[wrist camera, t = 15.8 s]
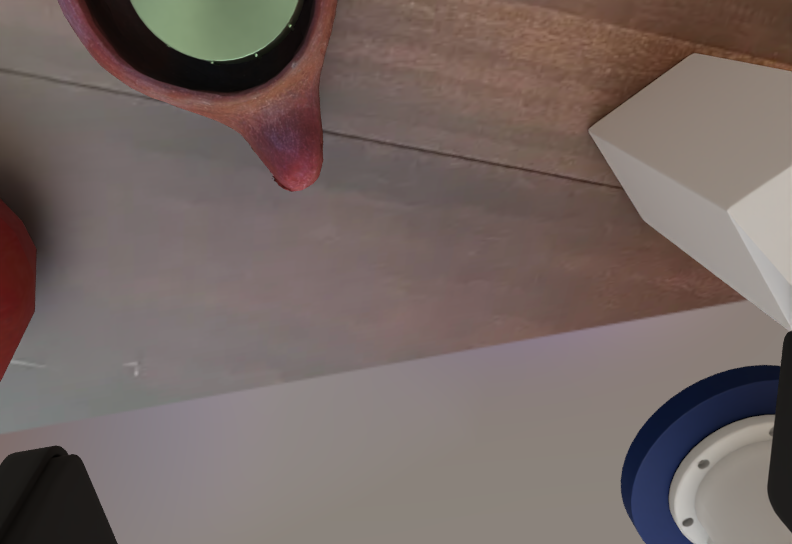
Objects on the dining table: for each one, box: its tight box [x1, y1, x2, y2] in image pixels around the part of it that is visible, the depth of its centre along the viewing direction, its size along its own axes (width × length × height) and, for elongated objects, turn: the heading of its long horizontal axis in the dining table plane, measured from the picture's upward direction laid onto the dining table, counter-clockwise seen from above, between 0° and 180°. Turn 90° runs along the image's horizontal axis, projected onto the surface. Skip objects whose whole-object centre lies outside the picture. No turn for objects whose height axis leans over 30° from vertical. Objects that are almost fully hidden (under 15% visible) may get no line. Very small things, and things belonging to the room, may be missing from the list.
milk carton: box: [588, 53, 792, 331], centre depth 30 cm, size 7×7×19 cm
